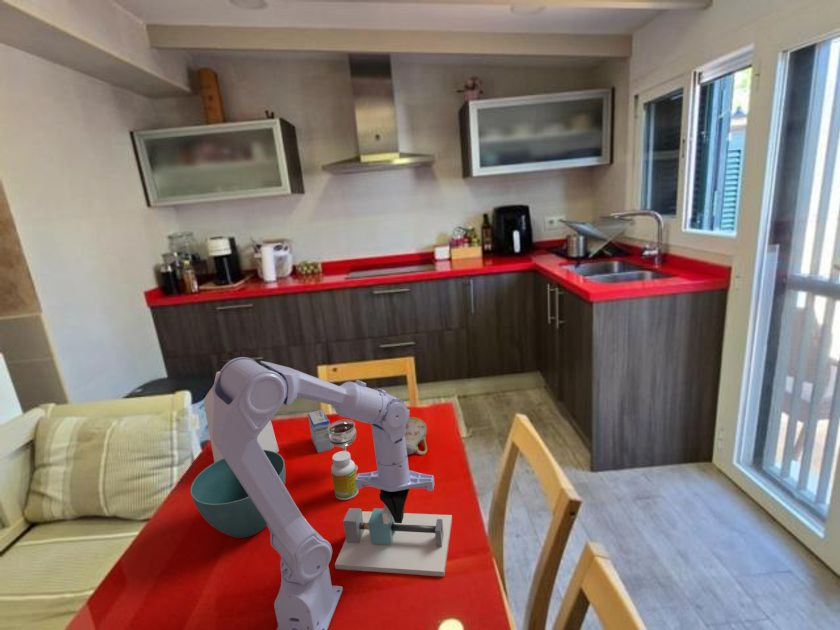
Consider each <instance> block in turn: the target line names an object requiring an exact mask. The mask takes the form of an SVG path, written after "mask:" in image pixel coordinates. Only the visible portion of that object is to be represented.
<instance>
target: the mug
mask: <svg viewBox="0 0 840 630" xmlns="http://www.w3.org/2000/svg"><path fill="white" fill-rule="evenodd" d="M427 431H428V425H427V424H426V422H424V420H423V419H421V418H419V417H418V418H417V417H414V416H412V417H411V416H409V419H408V421H407V424H406V433H405V440H406V449H407V455H413V454H414V453H416V454H418V455H419V456H423V455H425V454H426V453H427V451H428V445H427V437H426V436H427ZM420 443H422V444H423V446H424V450H423V451H421V450H419V446H418V445H419V444H420Z"/></svg>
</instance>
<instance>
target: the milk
mask: <svg viewBox="0 0 840 630" xmlns="http://www.w3.org/2000/svg"><path fill="white" fill-rule="evenodd" d="M220 371H221V370H220ZM220 371H216V373H215V377H214V383H215V381H216V379H217V377H218V375H219V373H220ZM214 383H213V384H214ZM203 406H204V407H203V408H204V411H205V418H206V422H207V427H208V429H207V430H208V433H209V435H208V436H209V439H210V445H211V451H212V456H213V457H212V458H213V463H215V462H217V461H218V460H221V459H223V458H224V457H223V456H222V454H221V453H220V451H219V450H218V448H217V447H216V445H215V444H214V441H213V438H212V431H213V415H214V396H213V391H212V387H211V388H210V389H209V391H208V392H207V394H206V395H205V397H204V400H203ZM271 420H272V419H271ZM271 420H270V421H269V422H268V424H267V425H266V426H265V427H264V429H263V430H262V431H261V432H260V434H259V435H258V437H257V440H258V442H259V444H260V445H261V447H262V449H263V450H269V451H273V452H276V453H278V452H279V451H280V449H279V446H278V442H277V439H276V436H275V431H274V427H273V424H272V421H271Z"/></svg>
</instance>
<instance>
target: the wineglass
mask: <svg viewBox="0 0 840 630" xmlns="http://www.w3.org/2000/svg"><path fill="white" fill-rule="evenodd" d="M355 426H356V423H355V422H354V421H353V420H352V419H340V420H336V421H333V422H332V423H330V425H329V426H328V431H329V440H330V442H331V443H332V444H333V446H335V447H337V448H341V449H343V450H342V451H347V452H348V450H347V447H349V446H350V445H352V444H353V443H354V442H355V440H356V438H357V429H356V427H355ZM355 468H356V472H357V471H358V469H359V467H358V465H357V464H355Z"/></svg>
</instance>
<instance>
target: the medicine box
mask: <svg viewBox="0 0 840 630" xmlns="http://www.w3.org/2000/svg"><path fill="white" fill-rule="evenodd" d="M307 416H308V423H309V428H310V429H309V430H310V434H311V435H310V436H311V441H312V443H313V445H314V447H315V450H316V452H317V453H319V454H320V453H324V452H327V451H330V450H332V449H334V445H333V444H332V443H331V442H330V440H329V431H328V426H329V425H330V424H331V423H330V419H328V417H327V415H326V412H325V411H324V410H323V409H320V410H316V411H312V412H309V413H307Z"/></svg>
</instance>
